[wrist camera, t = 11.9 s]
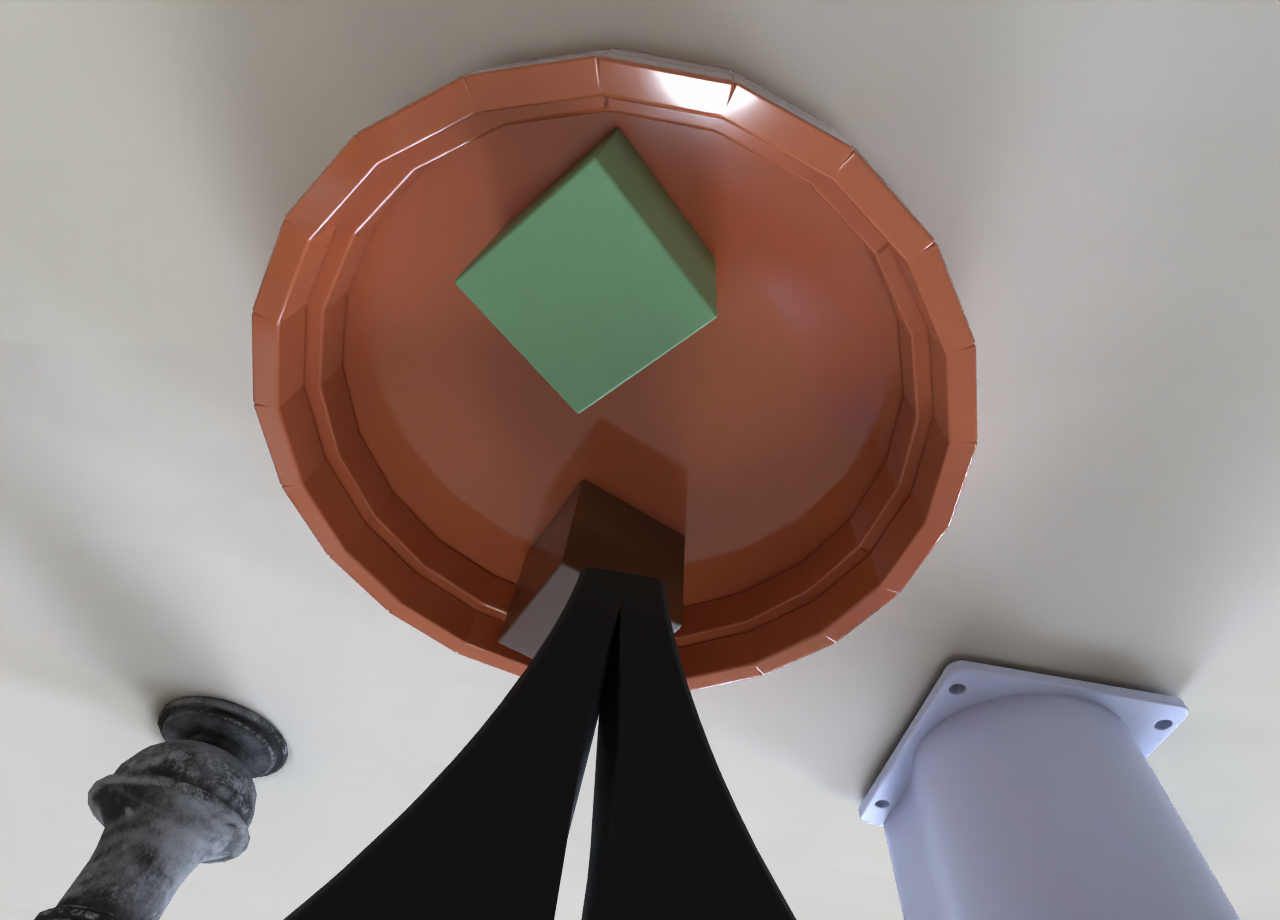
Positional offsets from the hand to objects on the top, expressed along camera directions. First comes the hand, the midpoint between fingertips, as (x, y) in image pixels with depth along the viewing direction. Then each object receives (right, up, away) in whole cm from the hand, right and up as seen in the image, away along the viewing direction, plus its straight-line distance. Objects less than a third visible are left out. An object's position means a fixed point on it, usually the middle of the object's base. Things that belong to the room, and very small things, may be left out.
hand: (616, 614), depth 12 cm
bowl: (0, +4, +7) cm, 8 cm away
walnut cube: (-1, 0, +9) cm, 9 cm away
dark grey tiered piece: (-17, -9, +17) cm, 26 cm away
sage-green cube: (0, +8, +4) cm, 8 cm away
